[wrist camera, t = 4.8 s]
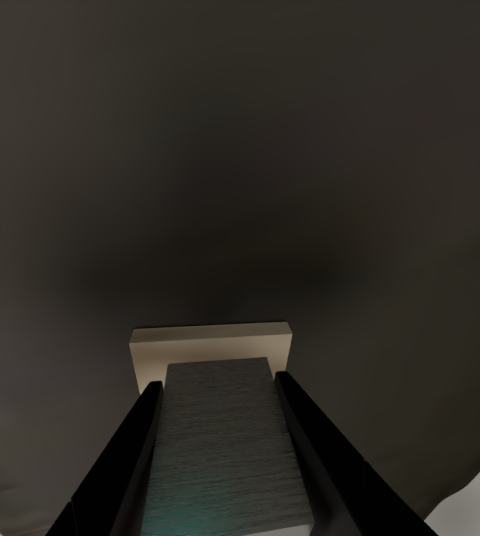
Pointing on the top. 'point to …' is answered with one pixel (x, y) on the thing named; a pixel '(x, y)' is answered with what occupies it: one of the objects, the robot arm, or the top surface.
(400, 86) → the top surface
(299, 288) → the top surface
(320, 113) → the top surface
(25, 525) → the top surface
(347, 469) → the robot arm
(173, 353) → the bracket
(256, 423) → the shaft
